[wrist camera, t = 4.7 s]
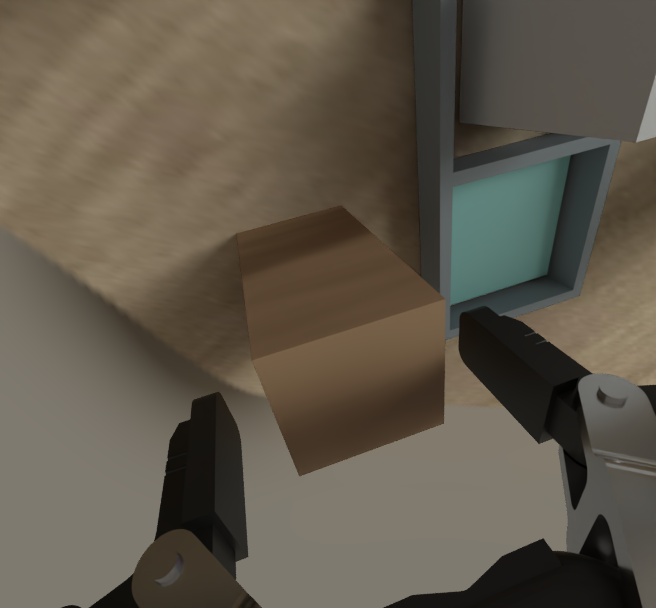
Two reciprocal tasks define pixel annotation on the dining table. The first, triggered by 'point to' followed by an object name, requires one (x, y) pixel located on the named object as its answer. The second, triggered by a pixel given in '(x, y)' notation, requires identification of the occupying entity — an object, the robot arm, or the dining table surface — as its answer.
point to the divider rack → (524, 141)
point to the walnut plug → (341, 337)
